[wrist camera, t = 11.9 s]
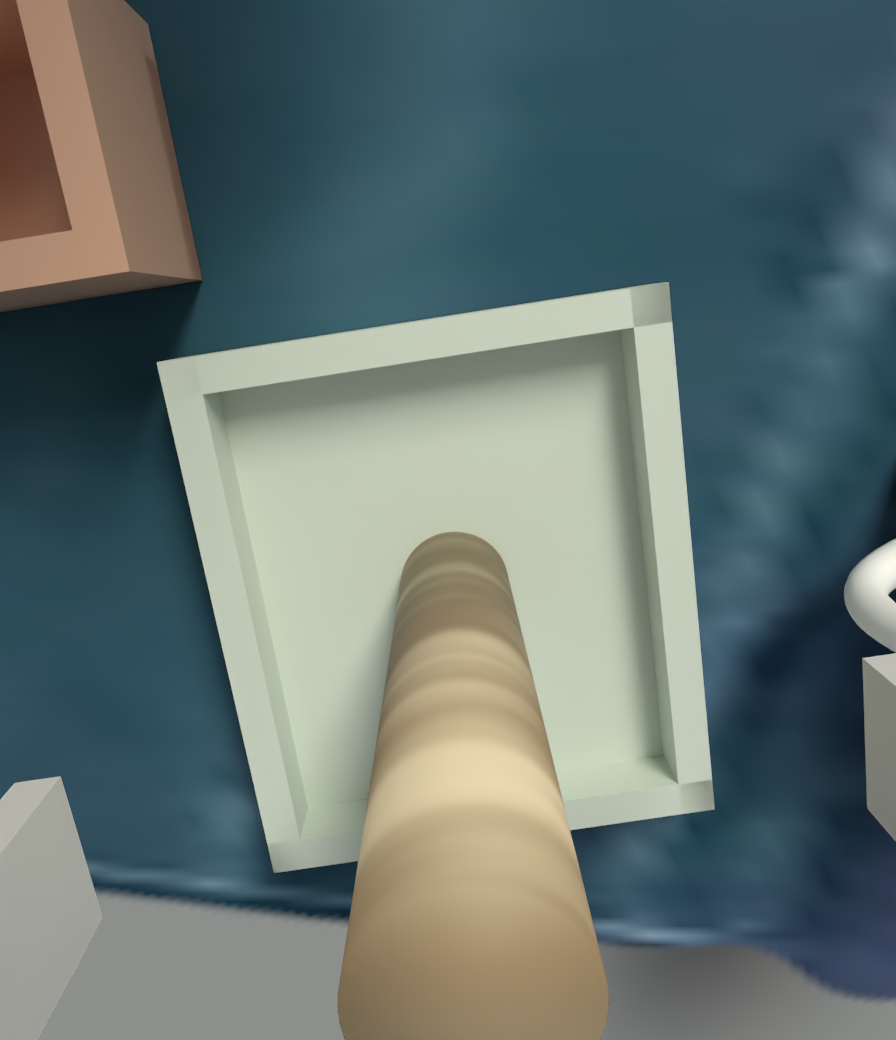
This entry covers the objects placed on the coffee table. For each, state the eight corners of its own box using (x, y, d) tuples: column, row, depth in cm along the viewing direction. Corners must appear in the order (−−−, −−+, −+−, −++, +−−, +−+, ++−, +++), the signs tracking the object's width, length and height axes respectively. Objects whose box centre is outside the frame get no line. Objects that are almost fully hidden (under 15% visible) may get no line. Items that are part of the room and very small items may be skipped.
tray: (183, 357, 25) (156, 361, 22) (645, 284, 25) (668, 281, 22) (287, 825, 28) (274, 873, 26) (690, 766, 28) (714, 809, 26)
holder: (-97, 64, 23) (-278, -21, 17) (147, 24, 23) (49, -75, 17) (-27, 316, 24) (-171, 318, 19) (202, 280, 24) (130, 271, 18)
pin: (392, 540, 25) (314, 908, 10) (500, 524, 25) (593, 871, 10) (410, 640, 26) (363, 1130, 11) (514, 625, 26) (621, 1096, 10)
